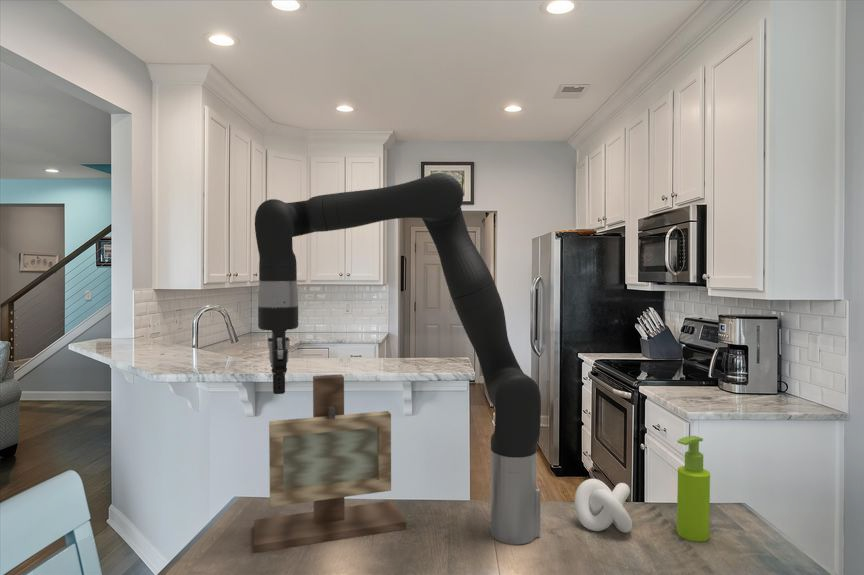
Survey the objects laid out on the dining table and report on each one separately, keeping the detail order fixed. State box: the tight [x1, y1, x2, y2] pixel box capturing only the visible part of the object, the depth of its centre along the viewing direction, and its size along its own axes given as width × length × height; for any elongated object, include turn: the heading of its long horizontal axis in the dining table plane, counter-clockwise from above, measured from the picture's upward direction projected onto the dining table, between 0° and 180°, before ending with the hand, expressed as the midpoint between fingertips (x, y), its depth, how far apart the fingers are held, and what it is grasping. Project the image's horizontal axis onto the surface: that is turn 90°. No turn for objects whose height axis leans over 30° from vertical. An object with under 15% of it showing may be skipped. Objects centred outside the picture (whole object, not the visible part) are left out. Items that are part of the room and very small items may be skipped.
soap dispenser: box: [676, 435, 711, 543], centre depth 109 cm, size 6×7×20 cm
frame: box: [268, 406, 392, 508], centre depth 108 cm, size 24×2×18 cm, turn 109°
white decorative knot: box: [573, 478, 633, 534], centre depth 112 cm, size 11×12×9 cm
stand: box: [253, 373, 407, 554], centre depth 111 cm, size 30×11×32 cm, turn 109°
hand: (279, 393), depth 105 cm, fingers closed
